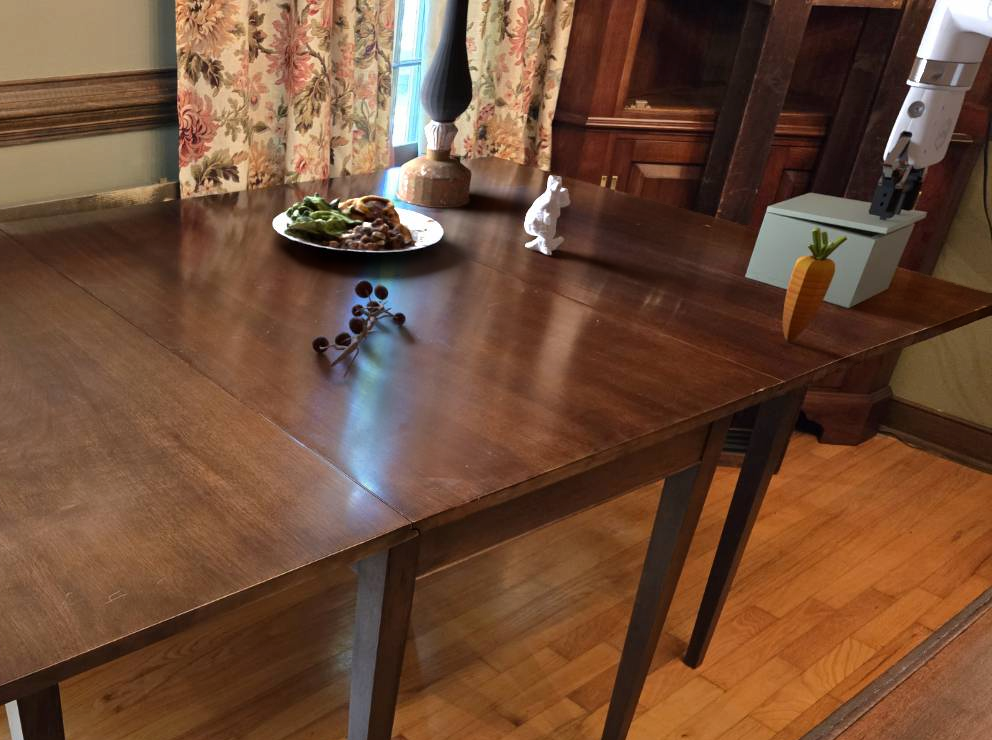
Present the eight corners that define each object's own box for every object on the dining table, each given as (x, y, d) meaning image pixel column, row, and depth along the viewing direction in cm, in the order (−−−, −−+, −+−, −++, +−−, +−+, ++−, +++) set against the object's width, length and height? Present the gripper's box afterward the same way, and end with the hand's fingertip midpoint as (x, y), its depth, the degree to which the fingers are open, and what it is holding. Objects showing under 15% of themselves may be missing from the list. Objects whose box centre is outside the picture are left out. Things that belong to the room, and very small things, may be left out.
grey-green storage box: (887, 289, 148) (915, 223, 142) (848, 308, 140) (875, 240, 134) (786, 260, 157) (808, 198, 152) (744, 277, 150) (765, 212, 144)
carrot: (814, 343, 129) (857, 230, 120) (797, 352, 126) (840, 237, 117) (778, 331, 132) (817, 220, 123) (761, 339, 129) (800, 227, 120)
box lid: (925, 217, 141) (939, 177, 138) (886, 234, 133) (900, 192, 130) (808, 197, 152) (819, 160, 149) (766, 211, 144) (776, 172, 141)
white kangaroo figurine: (561, 259, 154) (578, 182, 147) (519, 254, 155) (533, 177, 148) (562, 243, 160) (577, 169, 153) (521, 239, 162) (535, 165, 155)
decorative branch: (377, 252, 132) (377, 282, 105) (406, 311, 135) (413, 356, 108) (305, 291, 135) (287, 330, 108) (335, 348, 138) (324, 401, 111)
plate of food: (237, 236, 157) (237, 198, 154) (342, 204, 175) (345, 170, 171) (373, 280, 142) (377, 239, 139) (473, 241, 160) (479, 204, 156)
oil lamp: (392, 221, 179) (382, -19, 152) (402, 186, 189) (395, -44, 162) (467, 220, 176) (471, -26, 148) (474, 184, 186) (479, -51, 159)
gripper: (948, 83, 121) (892, 228, 131) (996, 73, 130) (941, 209, 140) (886, 75, 125) (837, 215, 135) (936, 66, 135) (887, 198, 145)
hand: (890, 211), depth 138 cm, fingers closed on box lid, 6 cm apart
